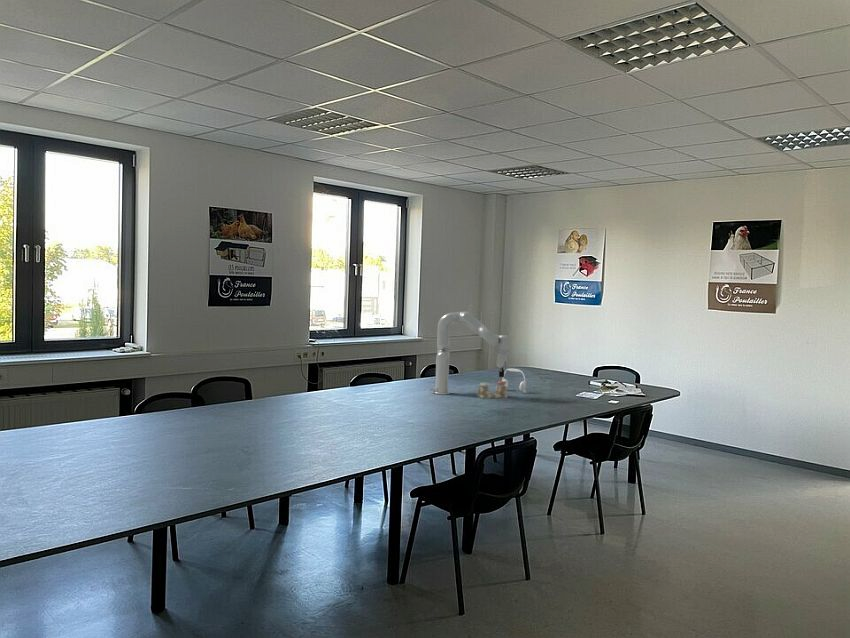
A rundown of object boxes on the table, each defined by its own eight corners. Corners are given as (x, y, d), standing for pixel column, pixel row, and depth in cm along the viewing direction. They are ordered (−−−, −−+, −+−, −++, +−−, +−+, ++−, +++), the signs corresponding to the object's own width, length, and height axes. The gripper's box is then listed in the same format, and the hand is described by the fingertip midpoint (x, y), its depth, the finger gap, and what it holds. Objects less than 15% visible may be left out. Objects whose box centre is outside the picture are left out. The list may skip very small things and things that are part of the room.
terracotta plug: (499, 392, 465) (499, 382, 464) (496, 391, 470) (497, 380, 469) (506, 392, 466) (506, 382, 466) (503, 391, 471) (503, 380, 471)
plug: (481, 394, 461) (482, 383, 460) (478, 393, 466) (479, 382, 465) (488, 394, 462) (488, 383, 462) (485, 393, 467) (486, 382, 467)
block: (482, 398, 459) (482, 387, 458) (477, 395, 468) (477, 385, 468) (507, 397, 464) (508, 387, 464) (502, 395, 474) (502, 385, 473)
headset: (500, 390, 496) (501, 367, 495) (504, 389, 502) (505, 366, 501) (522, 393, 484) (523, 370, 483) (527, 392, 490) (528, 369, 489)
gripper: (494, 350, 472) (492, 375, 473) (502, 353, 458) (500, 378, 459) (503, 351, 475) (502, 375, 476) (511, 353, 460) (510, 378, 461)
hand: (501, 376), depth 467 cm, fingers closed
